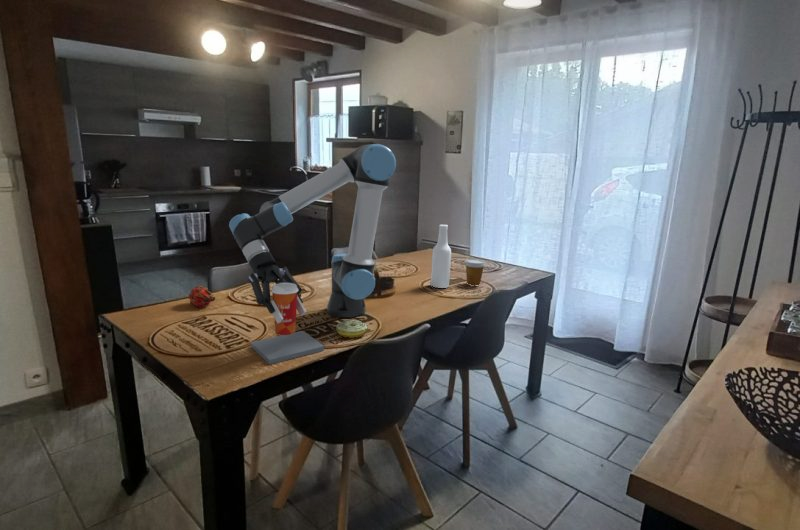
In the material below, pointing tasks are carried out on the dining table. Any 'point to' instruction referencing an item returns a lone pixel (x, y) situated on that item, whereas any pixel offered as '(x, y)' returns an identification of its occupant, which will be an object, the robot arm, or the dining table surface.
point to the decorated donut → (351, 328)
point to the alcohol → (441, 260)
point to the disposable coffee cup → (474, 271)
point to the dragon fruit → (200, 297)
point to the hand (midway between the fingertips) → (292, 317)
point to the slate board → (286, 347)
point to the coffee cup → (285, 306)
